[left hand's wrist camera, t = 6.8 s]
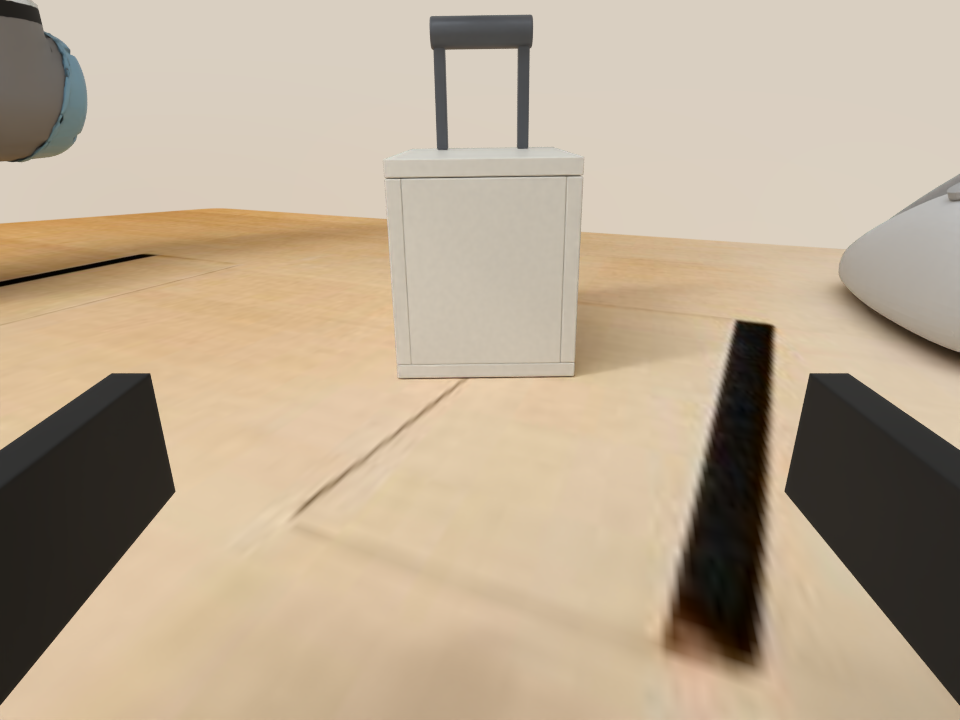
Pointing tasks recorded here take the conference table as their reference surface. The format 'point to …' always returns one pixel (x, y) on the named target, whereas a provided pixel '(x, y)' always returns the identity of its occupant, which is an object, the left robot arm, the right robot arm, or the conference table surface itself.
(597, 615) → the conference table surface
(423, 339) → the chest
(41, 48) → the right robot arm
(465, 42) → the lid
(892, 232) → the projector
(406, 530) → the conference table surface
